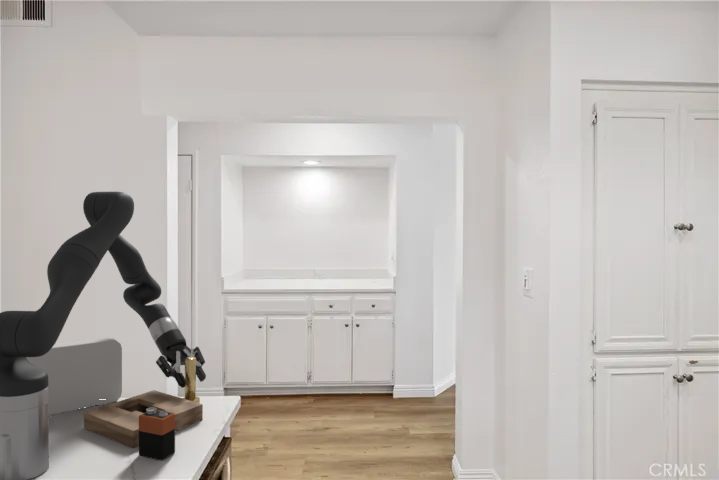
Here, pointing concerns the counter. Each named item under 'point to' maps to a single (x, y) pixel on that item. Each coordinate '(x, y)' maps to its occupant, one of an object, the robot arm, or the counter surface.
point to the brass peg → (190, 380)
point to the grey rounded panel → (82, 373)
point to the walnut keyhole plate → (124, 415)
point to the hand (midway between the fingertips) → (194, 382)
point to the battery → (156, 434)
